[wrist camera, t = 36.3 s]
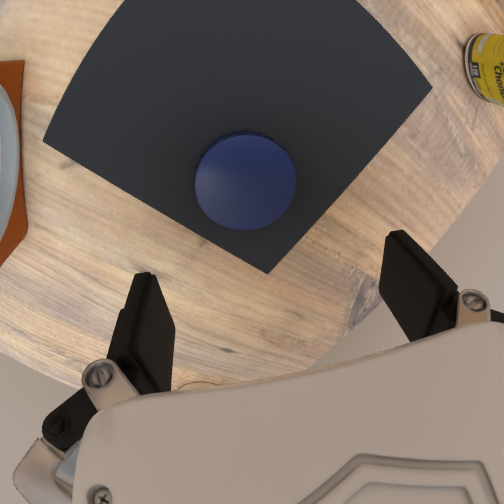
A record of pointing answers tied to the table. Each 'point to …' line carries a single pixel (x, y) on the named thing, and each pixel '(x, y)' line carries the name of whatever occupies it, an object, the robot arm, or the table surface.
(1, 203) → the alarm clock
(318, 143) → the mat
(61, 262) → the table surface
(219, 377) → the table surface
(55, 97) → the table surface
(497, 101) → the pill bottle
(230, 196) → the lid
